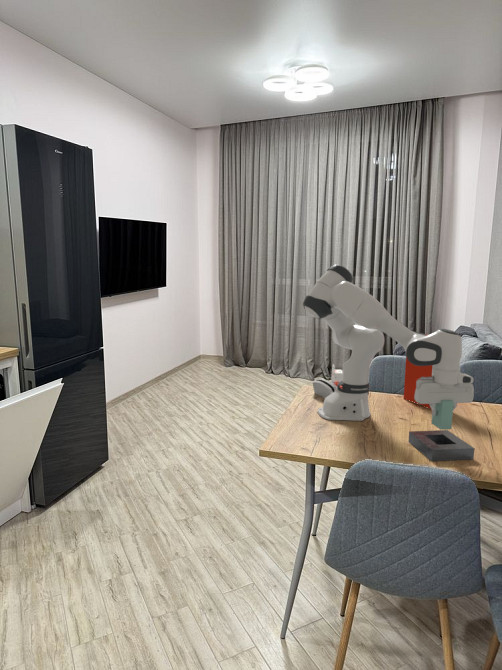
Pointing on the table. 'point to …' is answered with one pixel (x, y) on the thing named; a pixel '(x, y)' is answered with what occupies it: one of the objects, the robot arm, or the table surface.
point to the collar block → (441, 445)
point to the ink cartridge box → (336, 376)
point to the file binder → (414, 379)
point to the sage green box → (443, 415)
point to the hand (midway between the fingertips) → (442, 414)
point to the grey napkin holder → (323, 387)
